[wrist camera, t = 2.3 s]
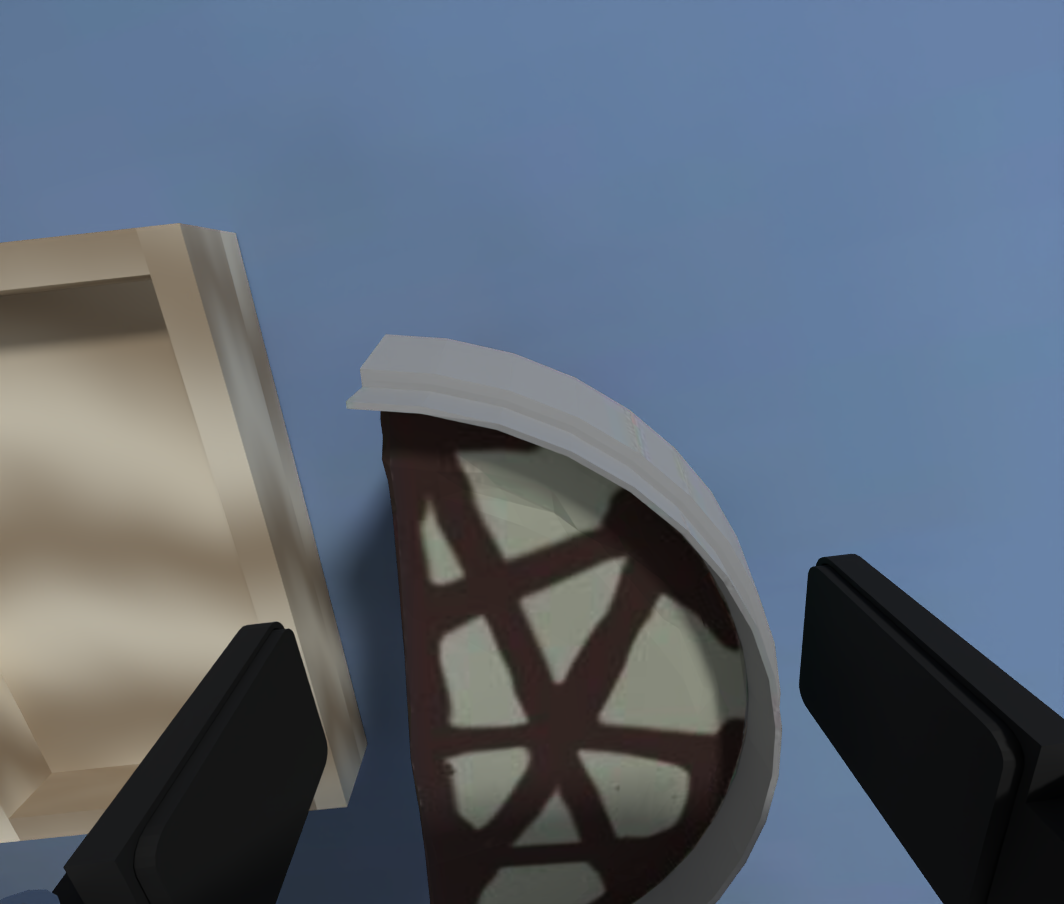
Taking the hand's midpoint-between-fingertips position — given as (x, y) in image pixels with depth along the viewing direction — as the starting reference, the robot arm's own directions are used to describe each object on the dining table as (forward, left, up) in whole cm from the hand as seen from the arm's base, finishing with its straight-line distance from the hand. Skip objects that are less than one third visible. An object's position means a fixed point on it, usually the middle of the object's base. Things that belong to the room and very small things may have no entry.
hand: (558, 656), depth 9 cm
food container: (0, -1, -8) cm, 8 cm away
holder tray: (0, +13, -8) cm, 16 cm away
